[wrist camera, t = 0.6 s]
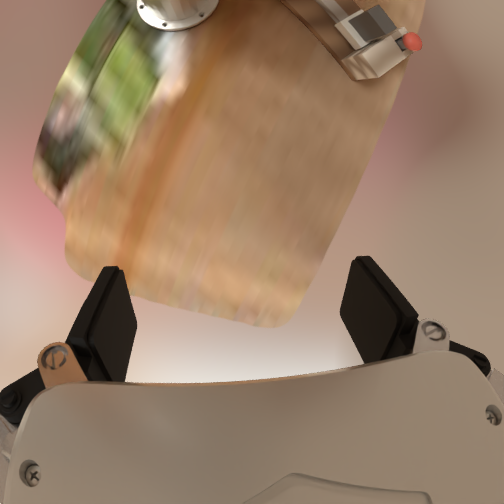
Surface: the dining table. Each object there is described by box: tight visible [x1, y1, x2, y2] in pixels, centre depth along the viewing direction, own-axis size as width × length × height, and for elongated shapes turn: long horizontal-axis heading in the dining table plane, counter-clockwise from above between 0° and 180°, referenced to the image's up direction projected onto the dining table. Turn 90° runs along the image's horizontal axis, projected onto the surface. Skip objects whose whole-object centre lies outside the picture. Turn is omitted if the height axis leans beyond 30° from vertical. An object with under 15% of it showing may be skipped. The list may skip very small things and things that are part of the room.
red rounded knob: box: [395, 32, 422, 51], centre depth 26 cm, size 3×3×4 cm
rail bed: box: [280, 0, 415, 81], centre depth 28 cm, size 22×10×8 cm, turn 42°
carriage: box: [334, 5, 397, 50], centre depth 28 cm, size 5×5×9 cm
